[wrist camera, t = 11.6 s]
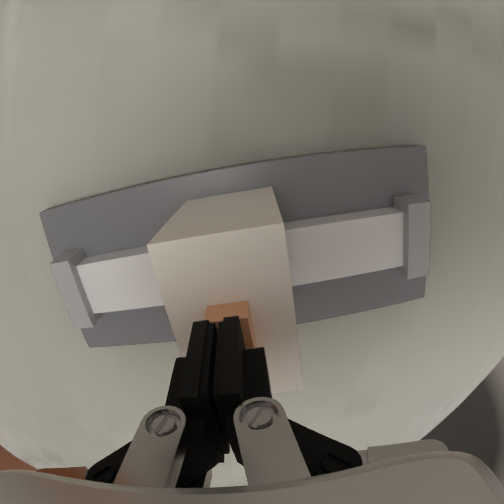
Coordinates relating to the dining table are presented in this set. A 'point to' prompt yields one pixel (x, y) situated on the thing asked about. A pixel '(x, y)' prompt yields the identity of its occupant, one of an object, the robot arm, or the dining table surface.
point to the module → (231, 275)
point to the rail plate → (293, 203)
